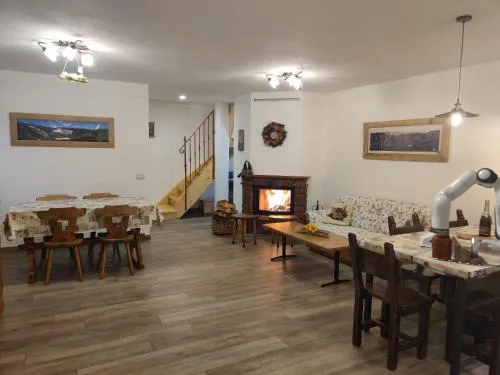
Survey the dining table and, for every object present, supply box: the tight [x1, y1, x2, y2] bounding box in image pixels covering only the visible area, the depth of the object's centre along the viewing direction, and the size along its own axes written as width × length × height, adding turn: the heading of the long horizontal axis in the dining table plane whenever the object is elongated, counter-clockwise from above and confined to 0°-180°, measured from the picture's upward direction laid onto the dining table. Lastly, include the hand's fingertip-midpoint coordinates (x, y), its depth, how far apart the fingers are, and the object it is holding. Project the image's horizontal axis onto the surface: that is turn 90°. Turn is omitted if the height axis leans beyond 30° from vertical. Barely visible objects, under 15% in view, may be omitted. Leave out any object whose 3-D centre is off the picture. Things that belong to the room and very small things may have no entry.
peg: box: [470, 236, 480, 258], centre depth 223 cm, size 4×4×12 cm
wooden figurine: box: [431, 232, 453, 261], centre depth 232 cm, size 12×6×18 cm, turn 57°
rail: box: [451, 235, 484, 266], centre depth 233 cm, size 14×24×12 cm, turn 159°
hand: (485, 246), depth 224 cm, fingers open, 8 cm apart
